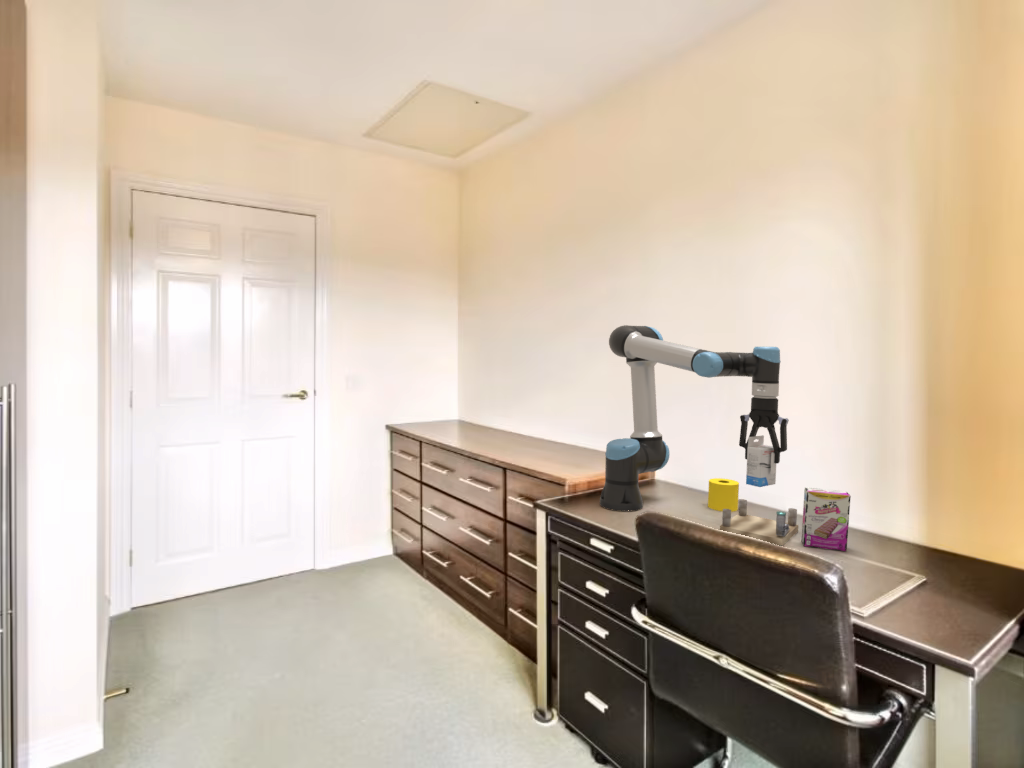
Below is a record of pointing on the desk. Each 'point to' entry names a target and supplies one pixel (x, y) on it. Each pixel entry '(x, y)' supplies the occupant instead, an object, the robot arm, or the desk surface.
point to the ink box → (759, 463)
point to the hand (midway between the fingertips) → (761, 471)
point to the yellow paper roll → (723, 494)
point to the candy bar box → (825, 519)
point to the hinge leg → (781, 524)
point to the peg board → (757, 525)
